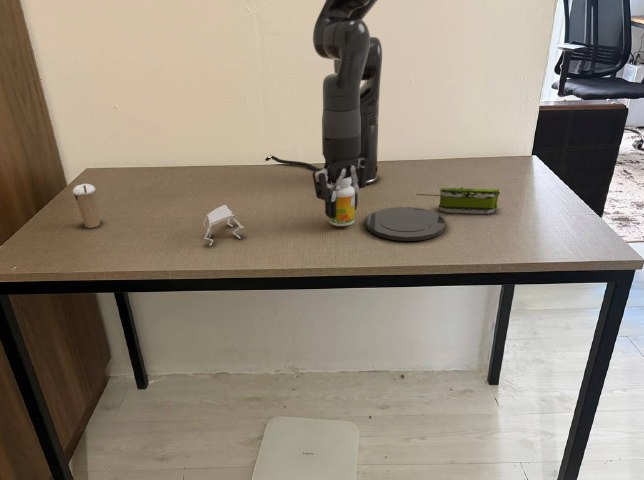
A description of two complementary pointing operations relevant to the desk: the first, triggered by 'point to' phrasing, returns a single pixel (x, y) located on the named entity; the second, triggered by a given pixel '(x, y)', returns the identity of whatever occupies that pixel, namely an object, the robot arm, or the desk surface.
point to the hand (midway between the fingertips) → (341, 212)
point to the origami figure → (218, 216)
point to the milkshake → (87, 204)
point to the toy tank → (468, 200)
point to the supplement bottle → (344, 204)
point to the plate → (405, 223)
